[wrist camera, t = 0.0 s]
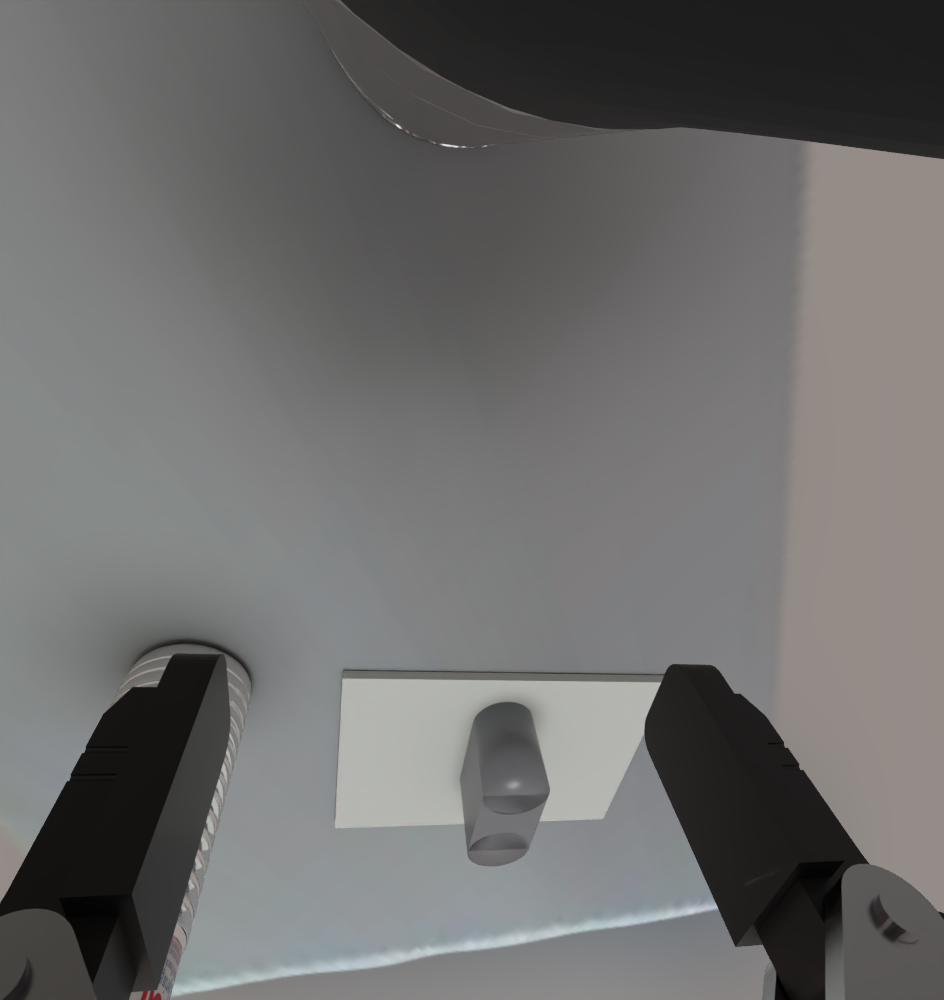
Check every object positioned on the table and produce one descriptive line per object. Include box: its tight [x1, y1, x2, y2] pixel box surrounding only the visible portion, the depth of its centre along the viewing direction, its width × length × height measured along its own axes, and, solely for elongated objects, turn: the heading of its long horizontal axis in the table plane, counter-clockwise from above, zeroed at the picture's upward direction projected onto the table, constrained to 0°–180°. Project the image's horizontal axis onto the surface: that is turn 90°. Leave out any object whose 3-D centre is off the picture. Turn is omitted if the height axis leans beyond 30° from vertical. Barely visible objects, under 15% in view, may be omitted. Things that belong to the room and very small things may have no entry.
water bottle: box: [109, 644, 251, 1000], centre depth 22 cm, size 7×7×25 cm
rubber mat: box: [335, 671, 664, 828], centre depth 39 cm, size 16×21×1 cm
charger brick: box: [460, 702, 550, 866], centre depth 37 cm, size 12×4×5 cm, turn 171°
